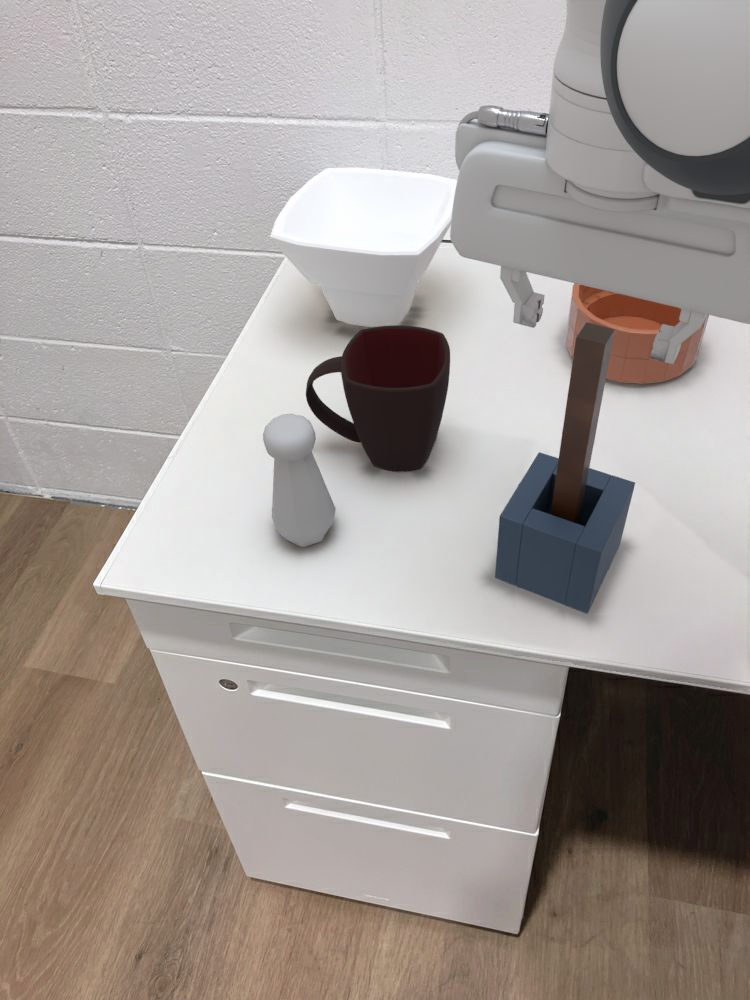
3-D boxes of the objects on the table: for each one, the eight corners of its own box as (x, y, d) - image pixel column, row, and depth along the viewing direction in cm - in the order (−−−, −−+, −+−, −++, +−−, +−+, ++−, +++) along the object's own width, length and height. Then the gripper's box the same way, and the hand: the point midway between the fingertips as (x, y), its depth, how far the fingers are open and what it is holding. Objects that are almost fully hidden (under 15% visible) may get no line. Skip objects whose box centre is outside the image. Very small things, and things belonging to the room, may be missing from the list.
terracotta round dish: (710, 330, 93) (726, 276, 88) (676, 402, 84) (690, 347, 79) (590, 301, 98) (598, 249, 93) (546, 366, 90) (552, 313, 85)
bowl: (429, 370, 91) (428, 258, 81) (273, 345, 96) (254, 237, 86) (470, 283, 103) (473, 176, 92) (330, 265, 108) (318, 162, 98)
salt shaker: (346, 515, 76) (333, 409, 67) (324, 560, 72) (307, 455, 63) (290, 502, 78) (269, 398, 68) (265, 546, 74) (240, 441, 64)
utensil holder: (619, 545, 71) (635, 482, 66) (587, 614, 67) (601, 552, 61) (531, 514, 75) (538, 451, 69) (494, 577, 70) (499, 516, 64)
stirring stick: (572, 557, 71) (615, 328, 53) (564, 573, 70) (605, 345, 52) (551, 549, 72) (586, 321, 54) (542, 565, 70) (575, 337, 53)
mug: (444, 490, 77) (444, 393, 69) (304, 480, 80) (287, 384, 71) (453, 423, 84) (455, 326, 75) (325, 415, 86) (312, 320, 78)
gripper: (432, 120, 46) (433, 325, 56) (818, 185, 38) (738, 408, 48) (479, 81, 49) (472, 280, 59) (839, 133, 42) (761, 351, 52)
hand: (593, 338), depth 54 cm, fingers open, 8 cm apart
